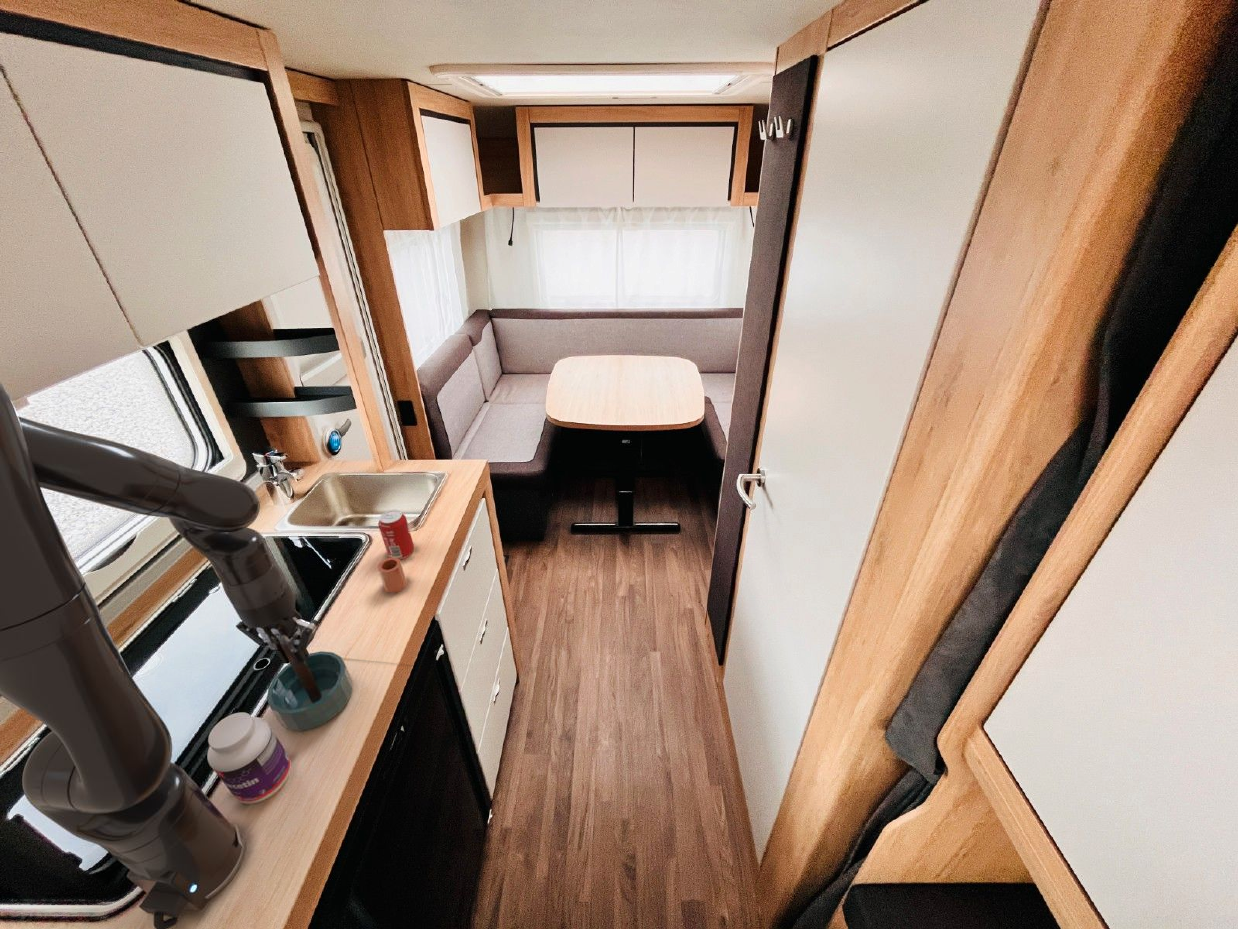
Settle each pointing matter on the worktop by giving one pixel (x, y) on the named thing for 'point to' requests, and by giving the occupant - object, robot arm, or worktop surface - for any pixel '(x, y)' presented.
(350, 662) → the worktop surface
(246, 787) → the pill bottle
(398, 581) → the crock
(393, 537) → the beverage can
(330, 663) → the bowl
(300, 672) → the cooking stick
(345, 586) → the worktop surface
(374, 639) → the worktop surface
